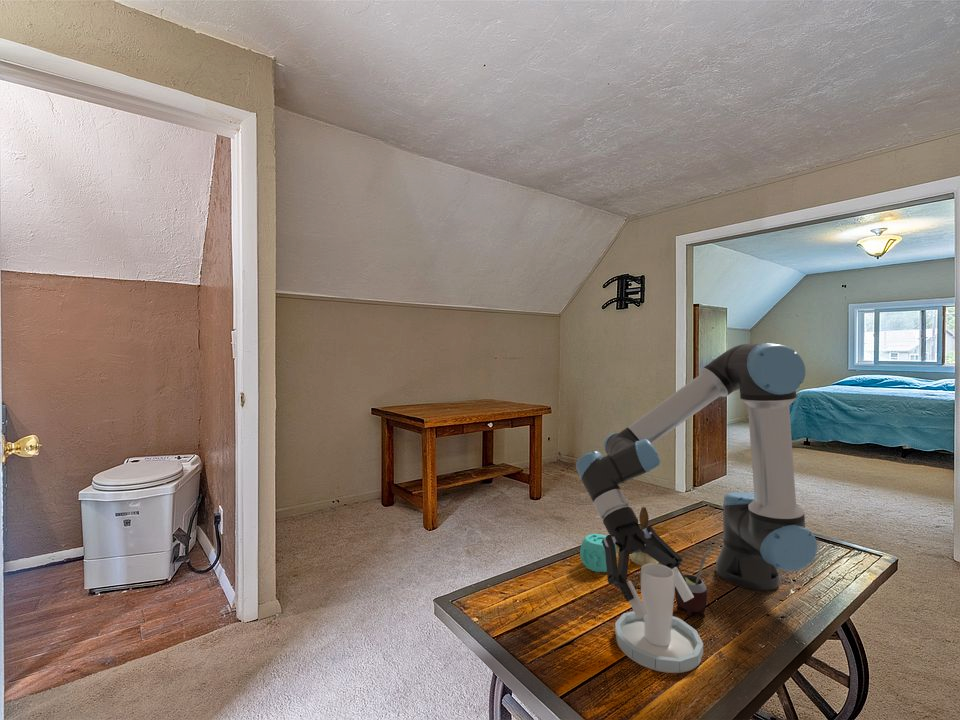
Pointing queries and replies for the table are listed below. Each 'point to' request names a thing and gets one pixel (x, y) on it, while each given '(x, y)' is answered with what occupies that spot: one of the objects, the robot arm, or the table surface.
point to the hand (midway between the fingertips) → (666, 608)
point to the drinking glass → (657, 602)
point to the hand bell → (642, 557)
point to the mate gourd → (694, 594)
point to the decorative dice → (594, 552)
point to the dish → (668, 659)
